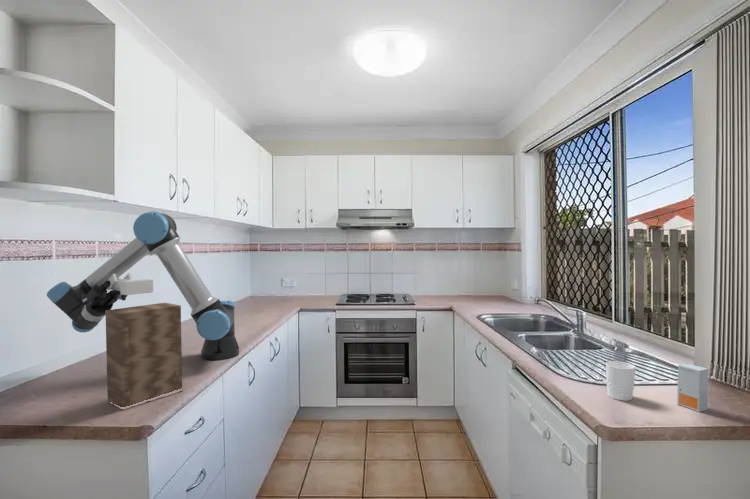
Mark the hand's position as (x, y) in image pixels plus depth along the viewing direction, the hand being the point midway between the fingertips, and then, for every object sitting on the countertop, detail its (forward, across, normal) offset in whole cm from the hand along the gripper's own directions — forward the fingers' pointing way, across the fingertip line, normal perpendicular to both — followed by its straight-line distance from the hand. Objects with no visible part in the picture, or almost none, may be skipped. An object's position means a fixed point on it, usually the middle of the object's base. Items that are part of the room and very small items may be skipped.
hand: (122, 277), depth 138 cm
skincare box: (+111, -89, -108) cm, 179 cm away
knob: (0, 0, -5) cm, 5 cm away
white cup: (+96, -86, -99) cm, 163 cm away
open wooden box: (-8, -1, -38) cm, 39 cm away
